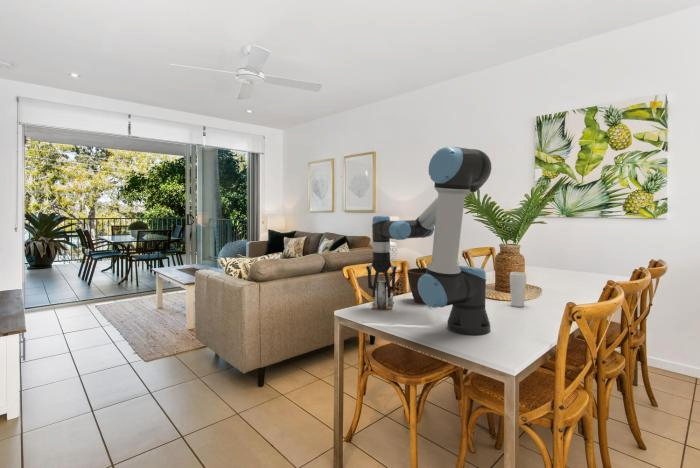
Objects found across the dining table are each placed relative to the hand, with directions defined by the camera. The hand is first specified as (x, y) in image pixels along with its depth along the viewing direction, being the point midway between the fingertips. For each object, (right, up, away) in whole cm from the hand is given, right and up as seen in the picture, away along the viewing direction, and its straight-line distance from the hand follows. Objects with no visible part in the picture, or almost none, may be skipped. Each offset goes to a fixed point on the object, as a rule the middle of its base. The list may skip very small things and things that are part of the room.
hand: (381, 304), depth 160 cm
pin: (0, -2, 0) cm, 2 cm away
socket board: (+1, -3, +6) cm, 6 cm away
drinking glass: (+62, -2, +6) cm, 63 cm away
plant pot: (+20, -2, +11) cm, 23 cm away
